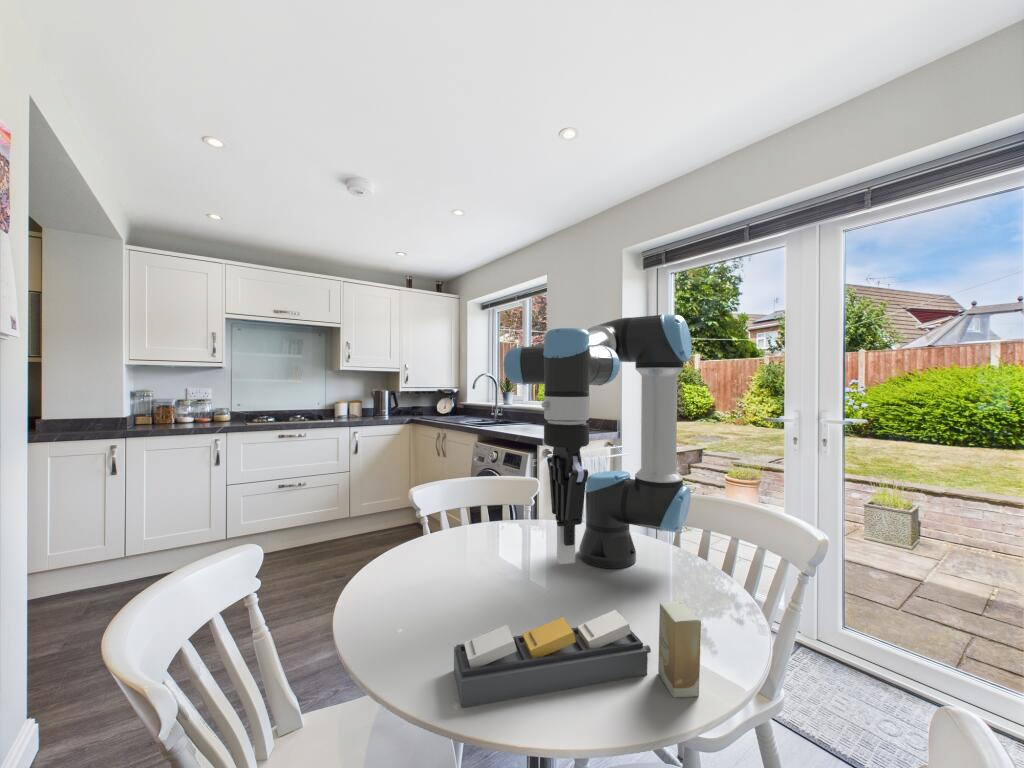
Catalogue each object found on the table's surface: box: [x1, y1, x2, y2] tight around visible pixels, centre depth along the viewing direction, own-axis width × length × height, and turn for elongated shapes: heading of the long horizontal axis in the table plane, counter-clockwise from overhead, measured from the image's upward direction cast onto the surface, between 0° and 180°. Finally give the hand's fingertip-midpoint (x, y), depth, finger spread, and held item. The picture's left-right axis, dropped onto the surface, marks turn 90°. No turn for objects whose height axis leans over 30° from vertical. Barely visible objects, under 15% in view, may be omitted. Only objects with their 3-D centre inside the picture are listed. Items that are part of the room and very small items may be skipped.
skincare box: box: [657, 600, 702, 698], centre depth 74 cm, size 6×4×12 cm
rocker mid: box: [521, 616, 576, 658], centre depth 77 cm, size 8×5×2 cm, turn 104°
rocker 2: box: [576, 609, 632, 649], centre depth 79 cm, size 8×5×2 cm, turn 104°
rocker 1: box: [463, 624, 517, 668], centre depth 74 cm, size 8×5×2 cm, turn 104°
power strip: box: [453, 627, 652, 708], centre depth 77 cm, size 34×9×5 cm, turn 104°
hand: (565, 561), depth 77 cm, fingers closed
